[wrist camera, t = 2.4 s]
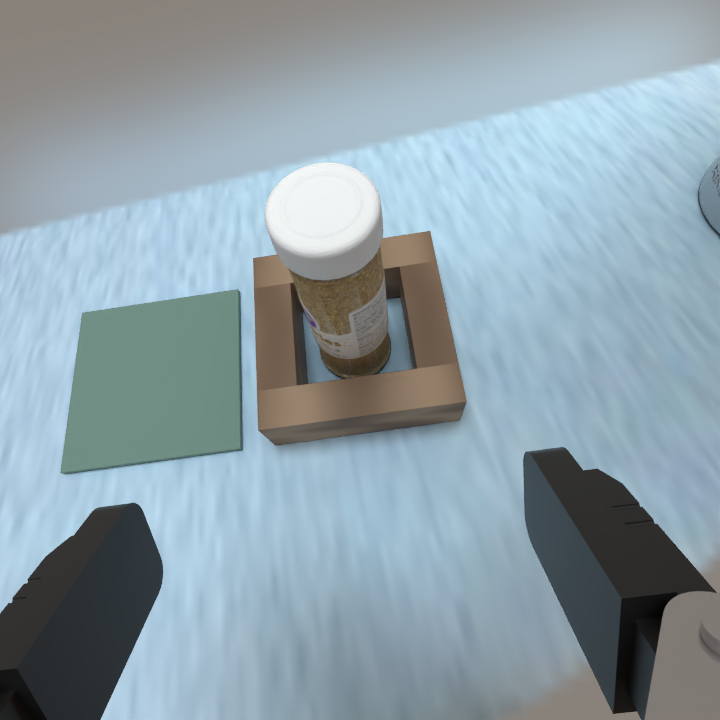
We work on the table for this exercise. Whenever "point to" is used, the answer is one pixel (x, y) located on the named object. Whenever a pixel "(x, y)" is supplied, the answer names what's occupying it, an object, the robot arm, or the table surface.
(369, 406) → the keeper collar
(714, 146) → the table surface
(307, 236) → the sprinkles bottle
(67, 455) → the rubber mat
